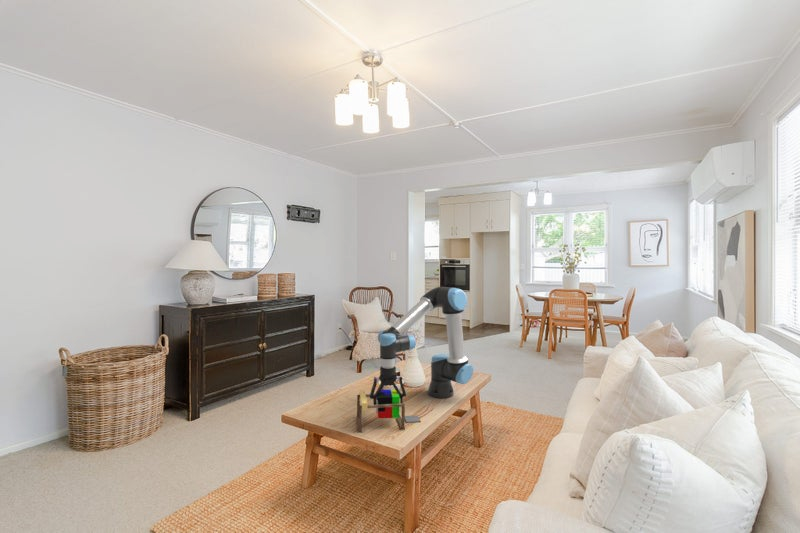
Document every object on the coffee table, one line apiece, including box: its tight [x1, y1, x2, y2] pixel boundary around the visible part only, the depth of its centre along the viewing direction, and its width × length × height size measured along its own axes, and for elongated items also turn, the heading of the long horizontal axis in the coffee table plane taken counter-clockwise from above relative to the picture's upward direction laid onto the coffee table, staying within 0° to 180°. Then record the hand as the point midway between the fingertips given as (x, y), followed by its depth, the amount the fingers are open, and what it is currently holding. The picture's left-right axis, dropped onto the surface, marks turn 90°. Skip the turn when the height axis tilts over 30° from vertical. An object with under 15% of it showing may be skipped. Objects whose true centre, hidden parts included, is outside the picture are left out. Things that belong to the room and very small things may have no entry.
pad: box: [404, 414, 422, 424], centre depth 190 cm, size 7×7×1 cm
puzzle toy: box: [377, 388, 400, 420], centre depth 185 cm, size 10×10×10 cm
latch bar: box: [359, 389, 369, 411], centre depth 183 cm, size 2×17×3 cm, turn 10°
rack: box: [355, 393, 406, 433], centre depth 184 cm, size 22×15×12 cm
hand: (388, 411), depth 185 cm, fingers closed on puzzle toy, 10 cm apart
